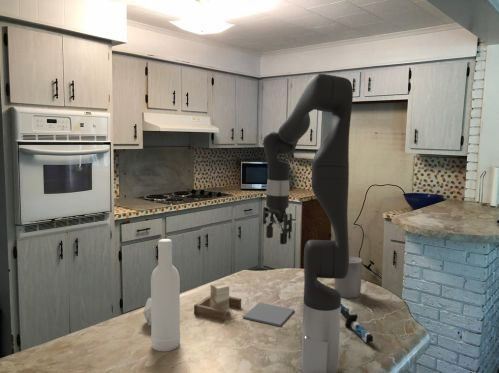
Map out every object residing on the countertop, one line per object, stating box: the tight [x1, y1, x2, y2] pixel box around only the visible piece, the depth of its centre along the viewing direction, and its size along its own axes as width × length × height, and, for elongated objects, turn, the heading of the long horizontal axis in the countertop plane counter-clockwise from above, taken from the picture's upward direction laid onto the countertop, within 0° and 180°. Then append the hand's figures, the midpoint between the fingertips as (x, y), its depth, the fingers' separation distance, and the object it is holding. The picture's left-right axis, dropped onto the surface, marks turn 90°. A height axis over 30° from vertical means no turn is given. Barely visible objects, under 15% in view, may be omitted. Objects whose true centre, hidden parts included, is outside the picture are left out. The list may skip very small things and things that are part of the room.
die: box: [142, 297, 151, 327], centre depth 130 cm, size 8×9×10 cm
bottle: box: [150, 238, 181, 352], centre depth 115 cm, size 8×8×30 cm
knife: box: [340, 303, 374, 343], centre depth 132 cm, size 31×3×4 cm, turn 11°
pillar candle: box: [333, 254, 363, 299], centre depth 157 cm, size 10×10×15 cm
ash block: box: [209, 281, 230, 313], centre depth 140 cm, size 4×4×9 cm
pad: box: [242, 302, 295, 327], centre depth 138 cm, size 13×13×1 cm
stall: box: [193, 294, 242, 322], centre depth 140 cm, size 12×11×3 cm
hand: (276, 240), depth 140 cm, fingers open, 8 cm apart
